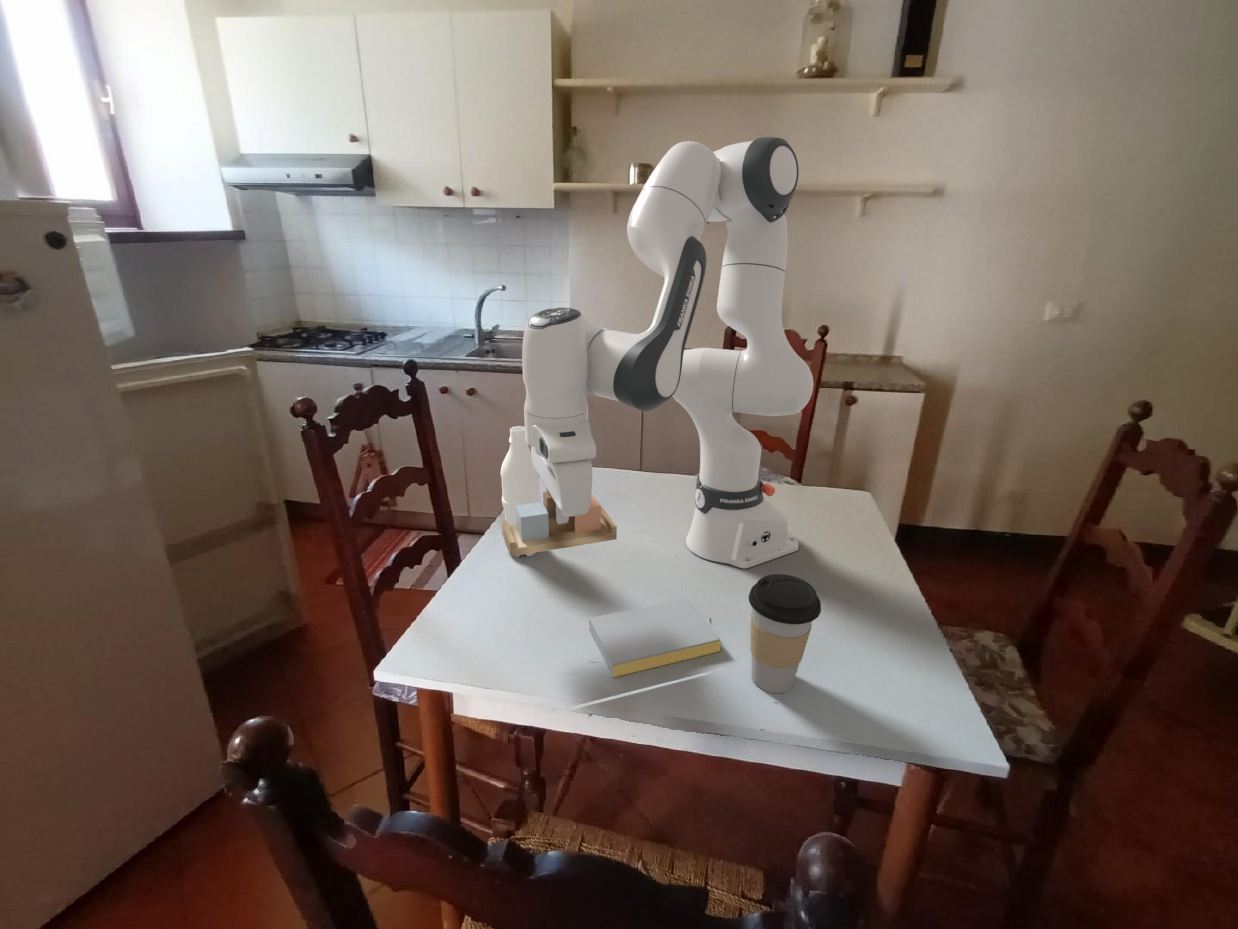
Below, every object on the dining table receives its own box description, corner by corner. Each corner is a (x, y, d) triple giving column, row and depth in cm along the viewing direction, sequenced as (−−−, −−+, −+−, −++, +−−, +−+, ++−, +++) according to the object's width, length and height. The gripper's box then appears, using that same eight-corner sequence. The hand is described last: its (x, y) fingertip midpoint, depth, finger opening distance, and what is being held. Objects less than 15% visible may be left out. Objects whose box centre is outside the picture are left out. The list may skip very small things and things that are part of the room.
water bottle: (535, 562, 113) (531, 437, 104) (498, 557, 114) (491, 433, 105) (546, 544, 120) (544, 424, 110) (512, 539, 121) (506, 420, 111)
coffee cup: (734, 655, 90) (744, 569, 85) (797, 658, 90) (812, 572, 85) (744, 702, 82) (756, 609, 76) (814, 705, 82) (832, 612, 76)
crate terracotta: (592, 517, 95) (592, 494, 93) (600, 529, 91) (600, 505, 90) (568, 521, 93) (567, 498, 92) (575, 533, 90) (575, 509, 88)
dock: (686, 610, 100) (687, 598, 100) (719, 653, 91) (721, 639, 90) (589, 631, 95) (589, 618, 94) (613, 679, 85) (613, 665, 84)
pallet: (601, 518, 97) (602, 477, 94) (616, 539, 91) (617, 496, 88) (502, 533, 92) (499, 490, 89) (510, 556, 86) (508, 511, 83)
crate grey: (542, 525, 92) (541, 501, 91) (548, 537, 89) (548, 513, 87) (516, 529, 91) (515, 505, 89) (521, 542, 87) (520, 517, 86)
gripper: (519, 408, 93) (523, 490, 98) (552, 456, 75) (554, 552, 80) (559, 405, 95) (560, 485, 100) (600, 450, 77) (599, 545, 82)
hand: (558, 516), depth 90 cm, fingers closed on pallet, 2 cm apart
